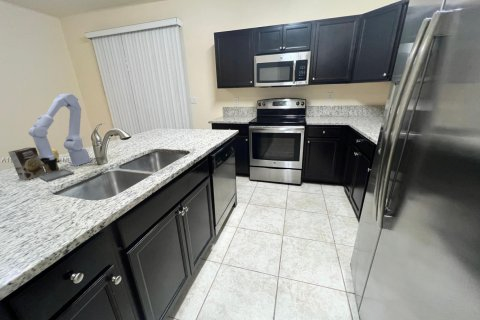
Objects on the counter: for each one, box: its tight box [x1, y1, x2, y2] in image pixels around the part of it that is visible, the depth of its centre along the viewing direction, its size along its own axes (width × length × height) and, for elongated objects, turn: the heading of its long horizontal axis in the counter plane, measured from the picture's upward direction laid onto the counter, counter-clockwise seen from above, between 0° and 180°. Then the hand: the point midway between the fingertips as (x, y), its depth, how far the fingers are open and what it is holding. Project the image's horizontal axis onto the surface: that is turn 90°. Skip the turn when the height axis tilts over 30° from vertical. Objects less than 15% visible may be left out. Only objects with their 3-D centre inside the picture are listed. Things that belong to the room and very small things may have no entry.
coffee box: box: [8, 147, 47, 181], centre depth 112 cm, size 9×6×16 cm
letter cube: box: [42, 162, 60, 174], centre depth 120 cm, size 5×5×5 cm
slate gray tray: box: [38, 168, 75, 183], centre depth 114 cm, size 12×12×1 cm
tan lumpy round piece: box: [37, 147, 60, 165], centre depth 136 cm, size 12×12×11 cm
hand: (52, 169), depth 120 cm, fingers closed on letter cube, 5 cm apart
